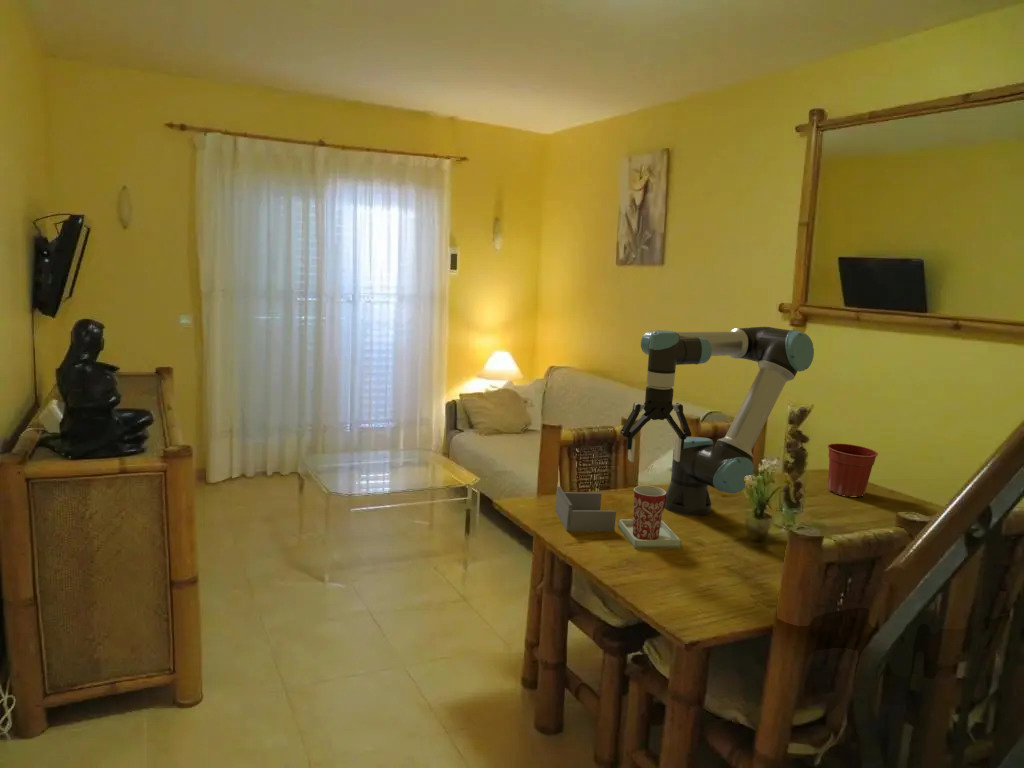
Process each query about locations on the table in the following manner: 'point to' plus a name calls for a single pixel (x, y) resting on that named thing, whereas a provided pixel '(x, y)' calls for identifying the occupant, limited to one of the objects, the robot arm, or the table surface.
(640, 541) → the tray
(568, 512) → the bay
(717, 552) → the table surface
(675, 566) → the table surface
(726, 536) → the table surface
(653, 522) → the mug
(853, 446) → the flower pot
